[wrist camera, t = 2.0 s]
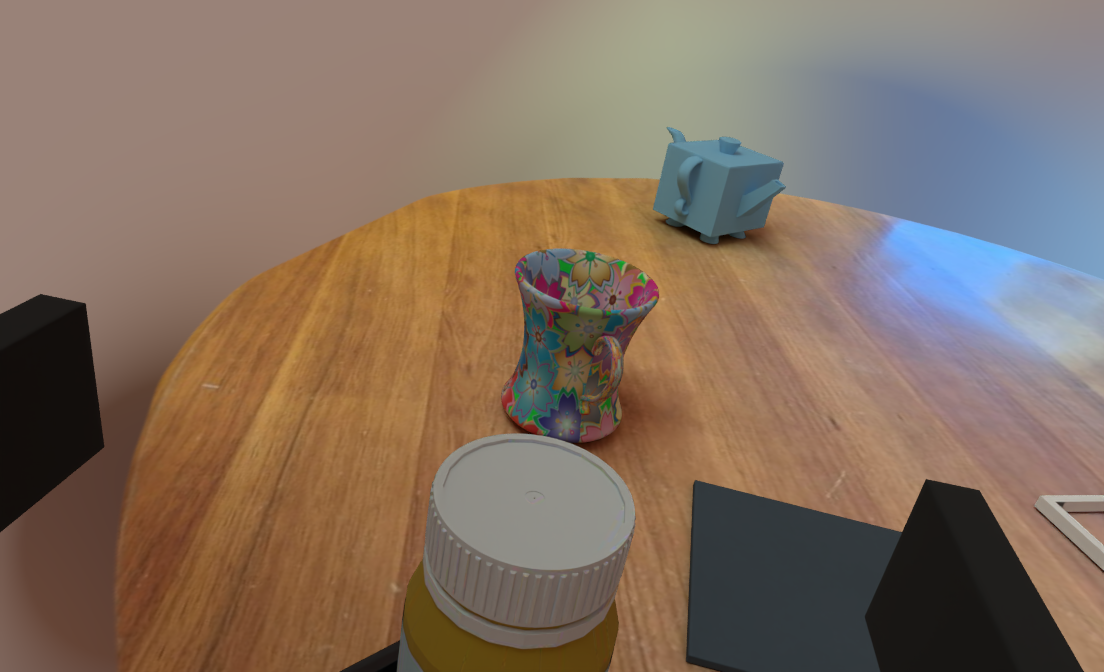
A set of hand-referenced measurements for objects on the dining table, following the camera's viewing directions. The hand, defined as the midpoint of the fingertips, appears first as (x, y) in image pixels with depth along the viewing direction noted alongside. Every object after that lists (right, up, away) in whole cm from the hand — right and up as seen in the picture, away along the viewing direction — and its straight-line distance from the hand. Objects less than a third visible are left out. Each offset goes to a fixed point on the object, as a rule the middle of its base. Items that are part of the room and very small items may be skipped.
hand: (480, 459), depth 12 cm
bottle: (-2, -16, +18) cm, 24 cm away
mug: (+2, -4, +41) cm, 41 cm away
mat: (+16, -12, +31) cm, 37 cm away
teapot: (+20, +15, +84) cm, 88 cm away
